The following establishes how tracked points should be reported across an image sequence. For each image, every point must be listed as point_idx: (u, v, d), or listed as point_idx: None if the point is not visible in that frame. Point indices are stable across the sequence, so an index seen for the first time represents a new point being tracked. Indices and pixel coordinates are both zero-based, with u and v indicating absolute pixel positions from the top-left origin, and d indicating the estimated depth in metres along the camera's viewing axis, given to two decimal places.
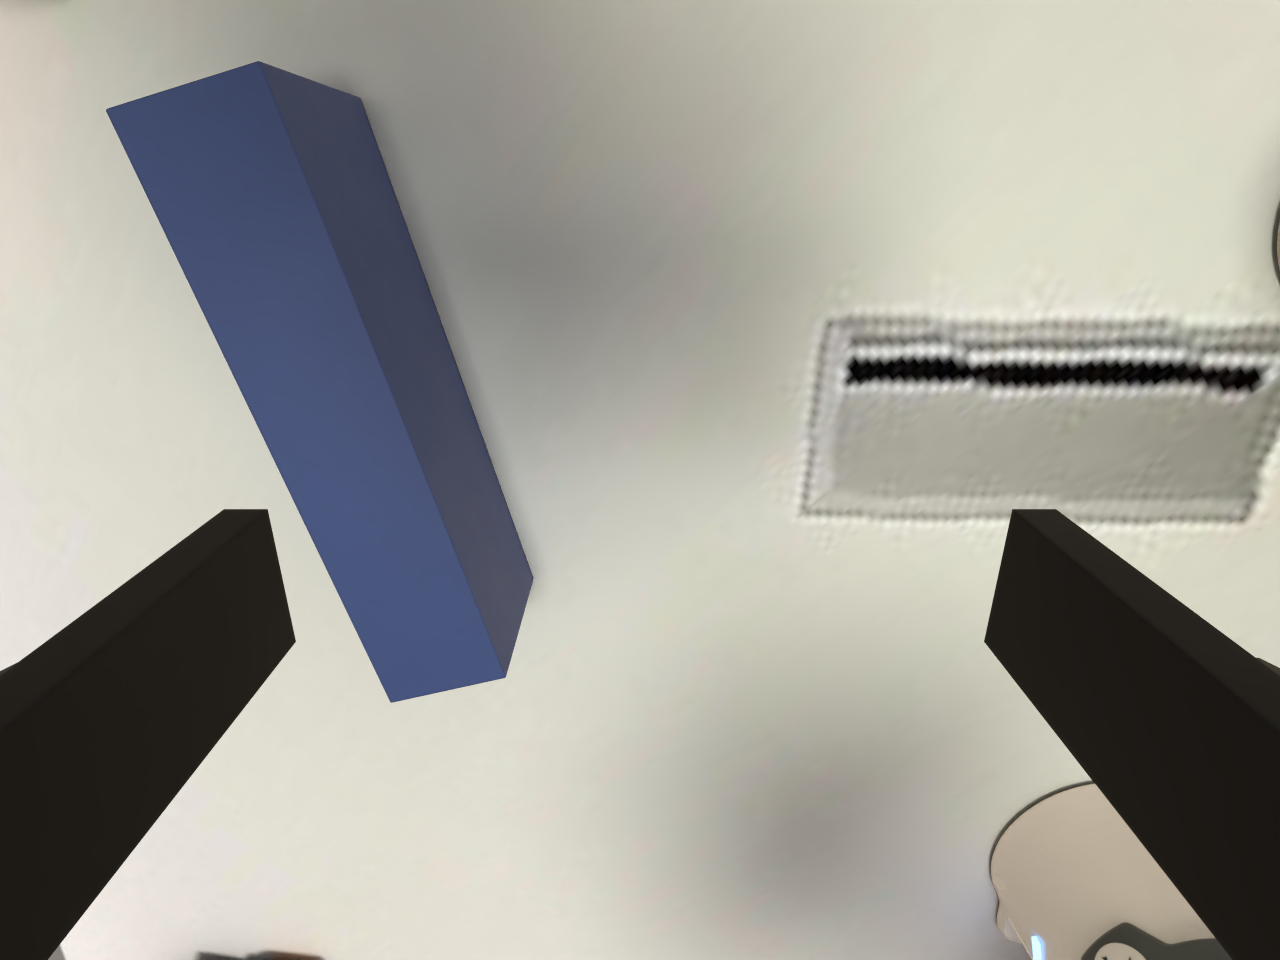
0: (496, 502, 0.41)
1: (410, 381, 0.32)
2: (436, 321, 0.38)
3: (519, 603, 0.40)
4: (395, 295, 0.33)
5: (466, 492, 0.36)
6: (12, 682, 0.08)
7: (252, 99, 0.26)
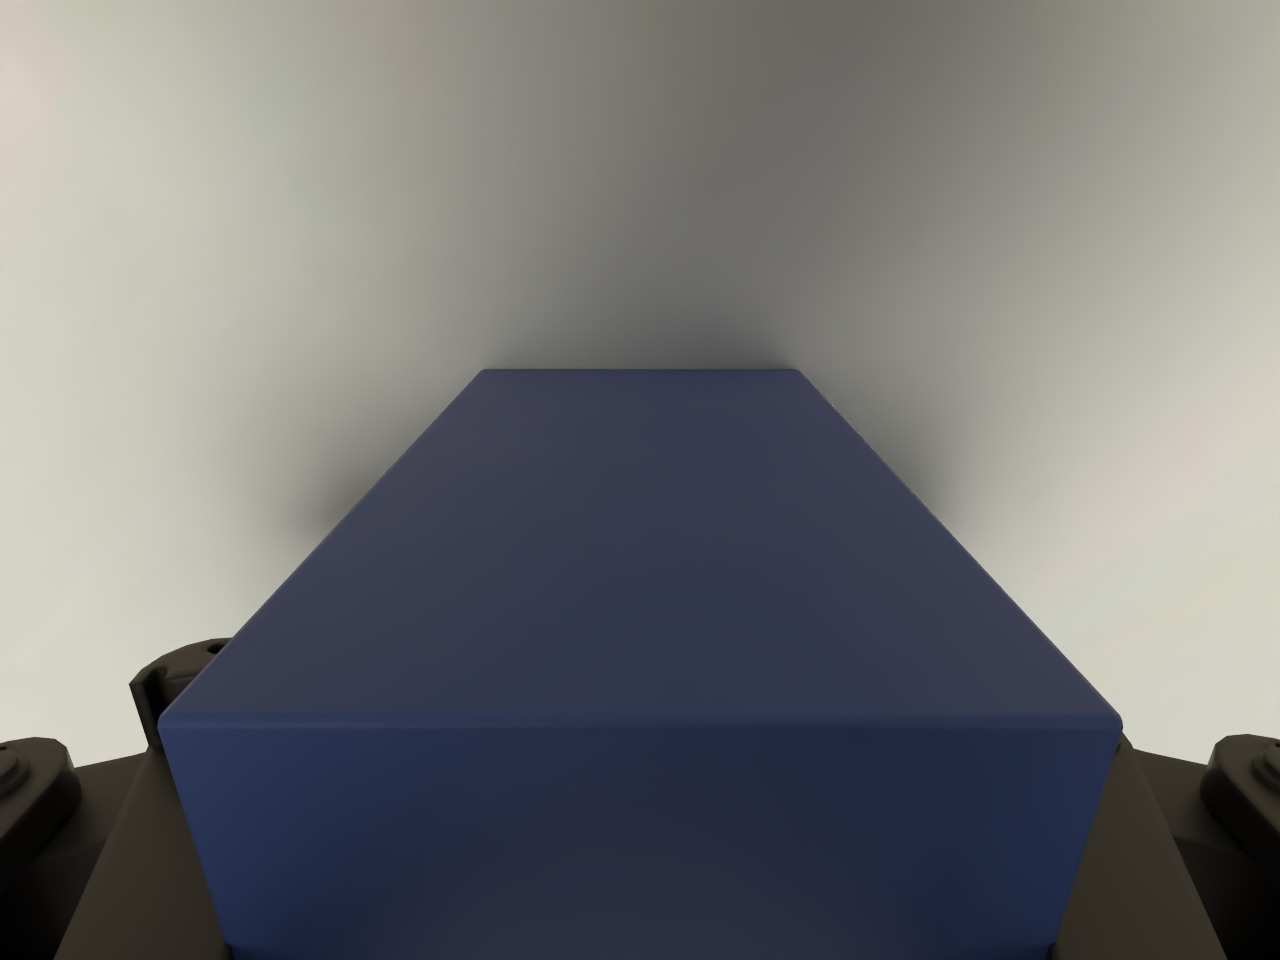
0: None
1: None
2: None
3: None
4: None
5: None
6: None
7: (979, 849, 0.05)
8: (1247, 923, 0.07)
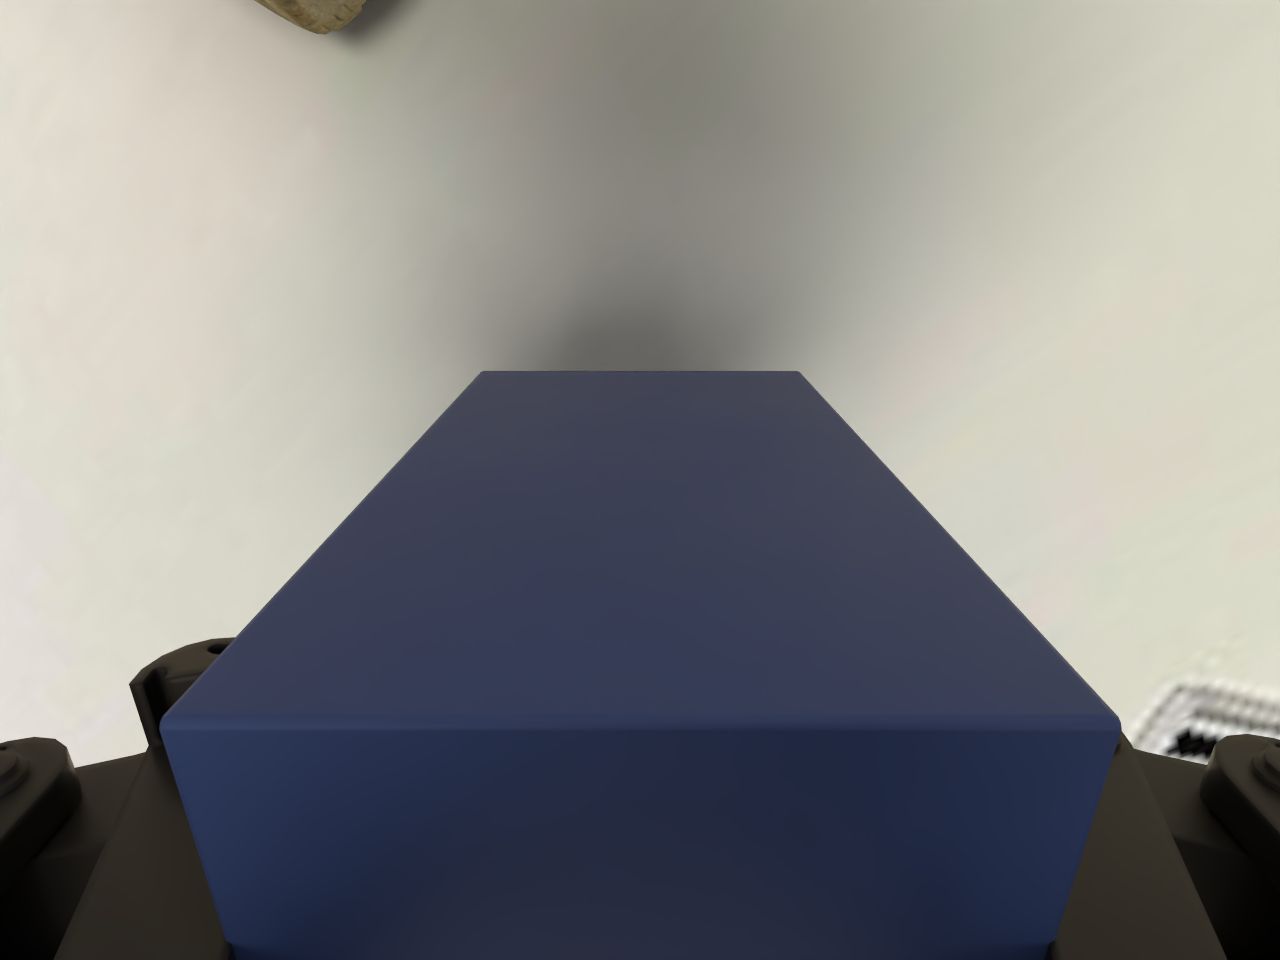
0: None
1: None
2: None
3: None
4: None
5: None
6: None
7: (977, 849, 0.05)
8: (1247, 923, 0.07)
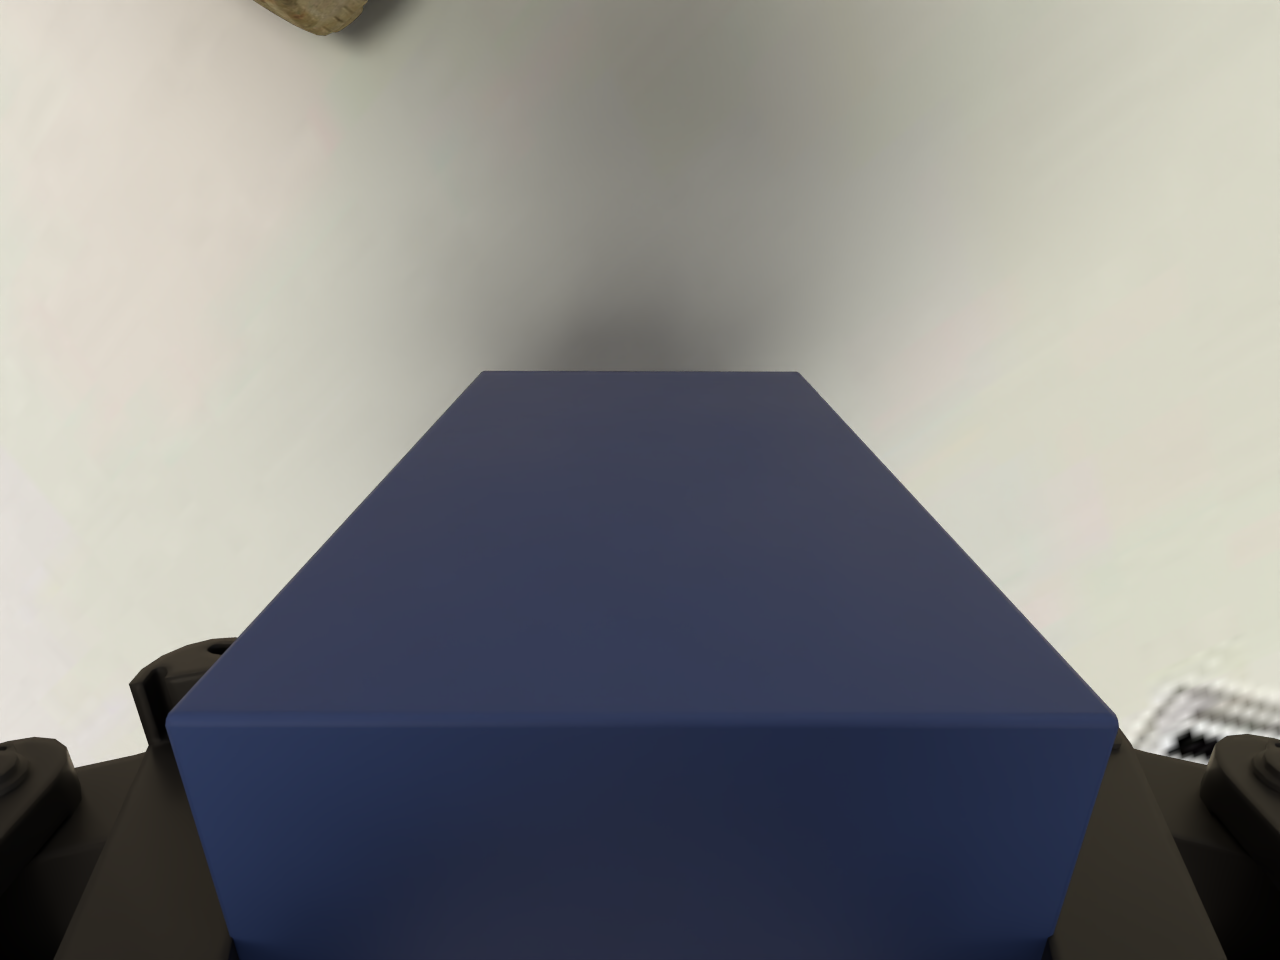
0: None
1: None
2: None
3: None
4: None
5: None
6: None
7: (975, 846, 0.05)
8: (1247, 923, 0.07)
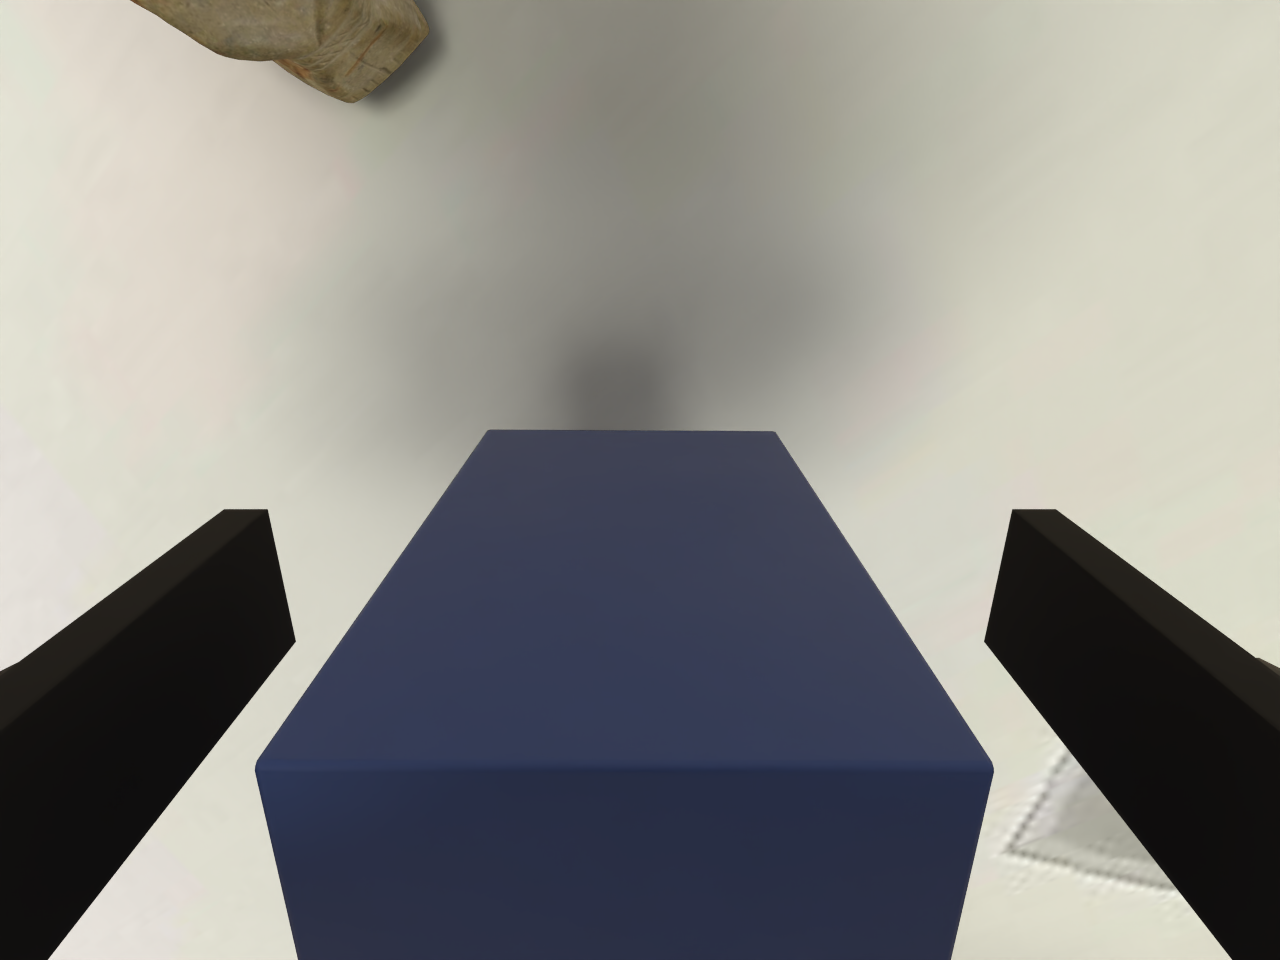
0: None
1: None
2: None
3: None
4: None
5: None
6: (12, 682, 0.08)
7: (887, 864, 0.06)
8: None
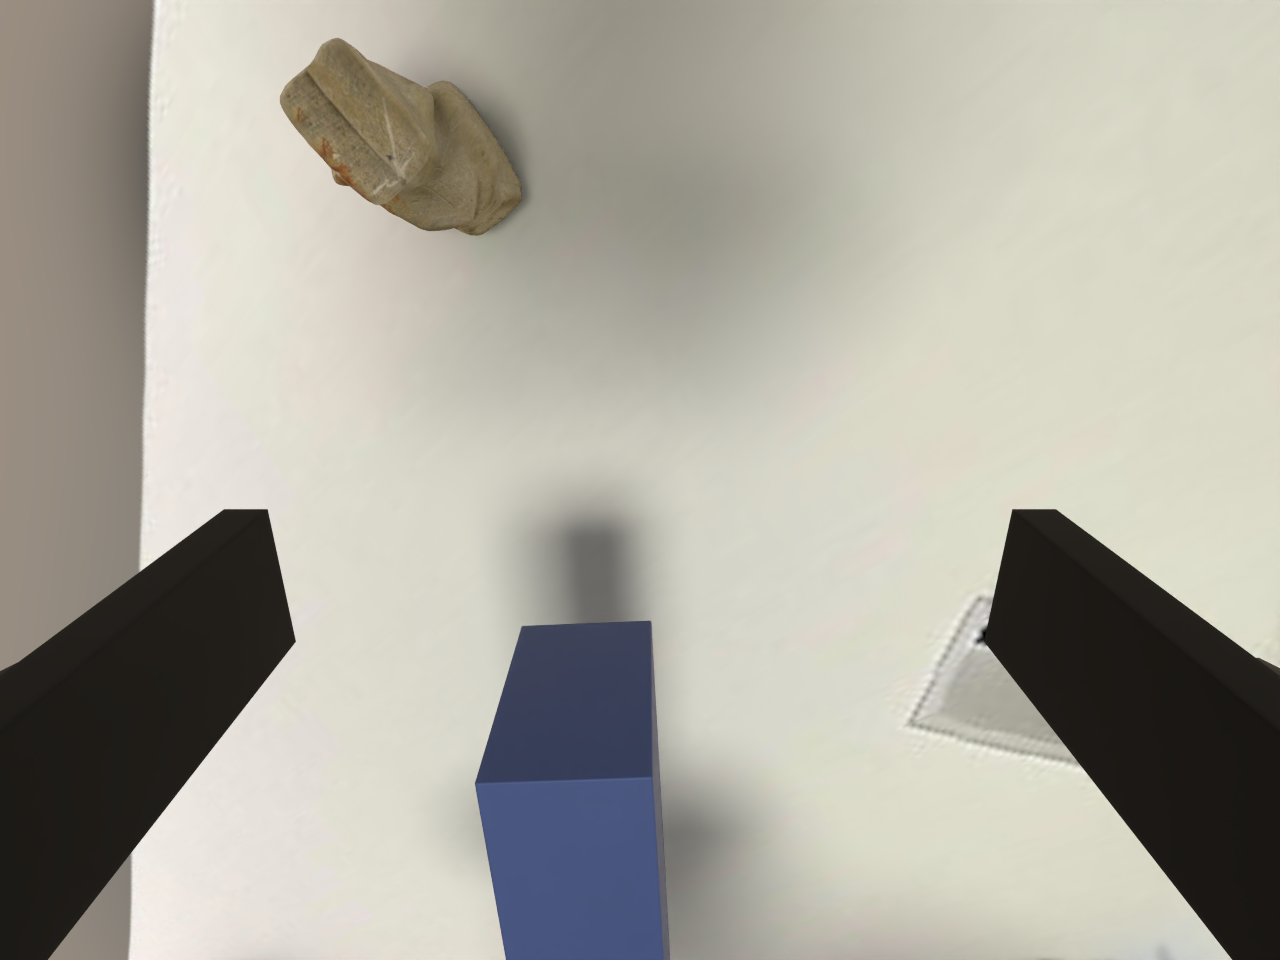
0: None
1: None
2: (661, 811, 0.37)
3: None
4: (661, 856, 0.32)
5: None
6: (12, 682, 0.08)
7: (632, 802, 0.25)
8: None
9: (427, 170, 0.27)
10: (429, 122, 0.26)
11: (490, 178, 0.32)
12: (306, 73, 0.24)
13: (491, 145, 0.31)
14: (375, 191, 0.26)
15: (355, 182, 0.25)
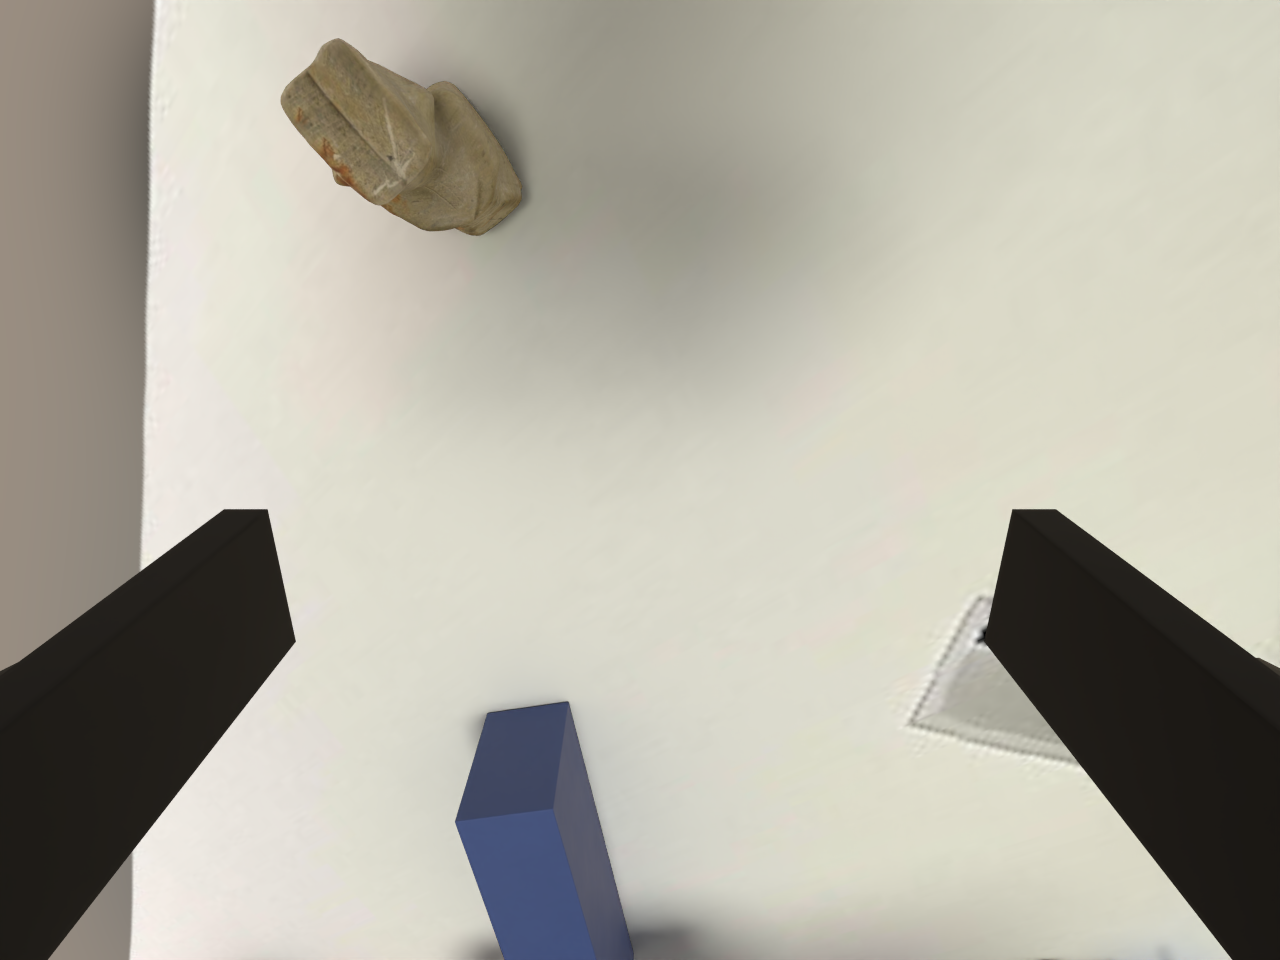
0: (620, 924, 0.58)
1: (595, 915, 0.50)
2: (596, 821, 0.56)
3: None
4: (587, 851, 0.51)
5: (613, 953, 0.54)
6: (12, 682, 0.08)
7: (544, 824, 0.43)
8: None
9: (428, 170, 0.27)
10: (429, 122, 0.26)
11: (491, 178, 0.32)
12: (307, 74, 0.24)
13: (491, 145, 0.31)
14: (376, 191, 0.26)
15: (356, 182, 0.25)
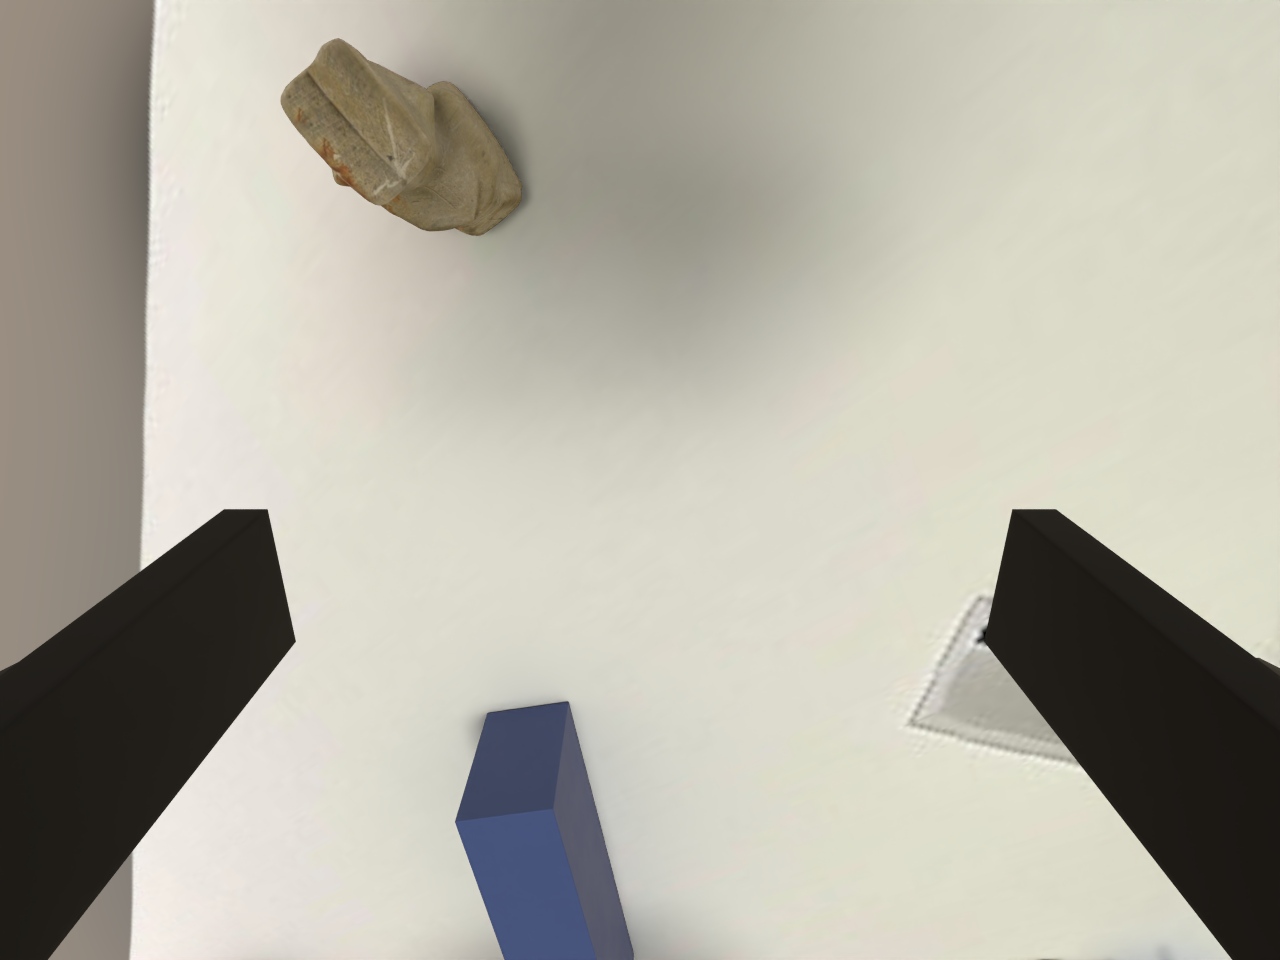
0: (620, 923, 0.58)
1: (595, 915, 0.50)
2: (596, 820, 0.56)
3: None
4: (587, 851, 0.51)
5: (613, 953, 0.54)
6: (12, 682, 0.08)
7: (544, 823, 0.43)
8: None
9: (428, 170, 0.27)
10: (429, 122, 0.26)
11: (491, 178, 0.32)
12: (307, 74, 0.24)
13: (491, 145, 0.31)
14: (376, 191, 0.26)
15: (356, 182, 0.25)
